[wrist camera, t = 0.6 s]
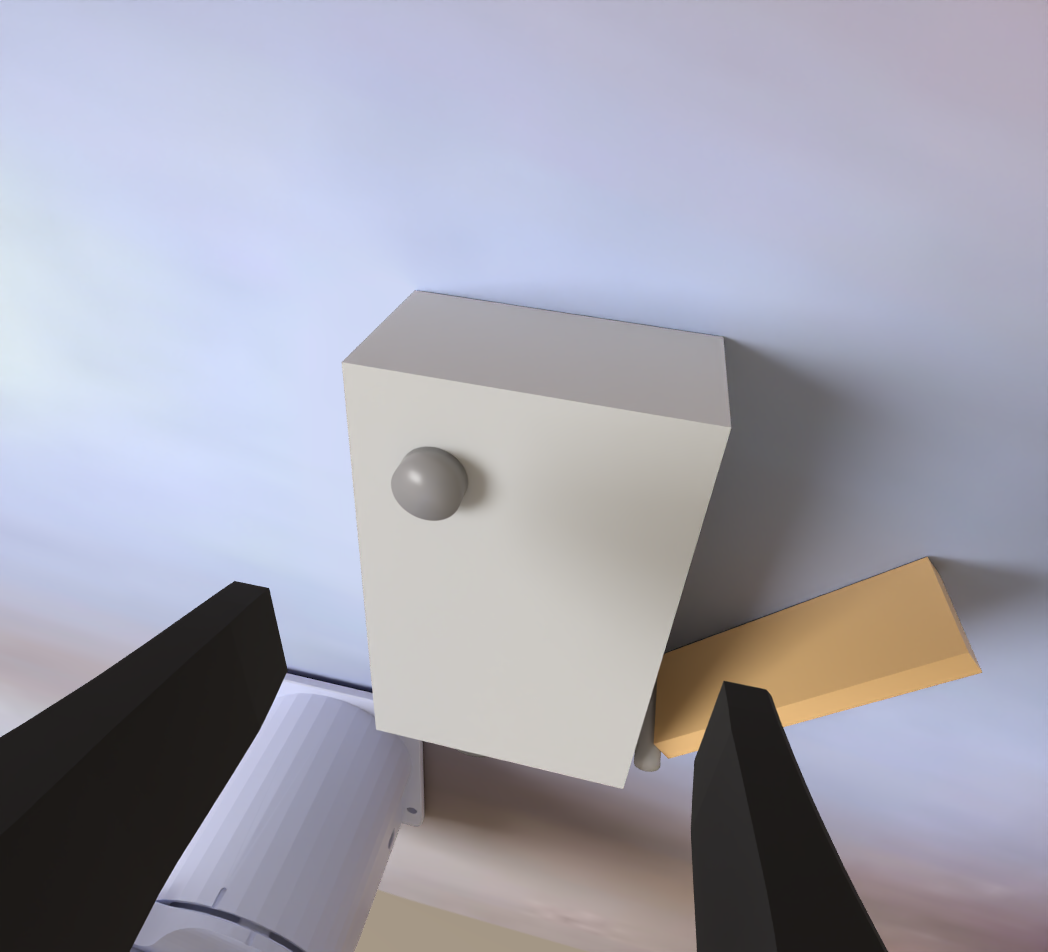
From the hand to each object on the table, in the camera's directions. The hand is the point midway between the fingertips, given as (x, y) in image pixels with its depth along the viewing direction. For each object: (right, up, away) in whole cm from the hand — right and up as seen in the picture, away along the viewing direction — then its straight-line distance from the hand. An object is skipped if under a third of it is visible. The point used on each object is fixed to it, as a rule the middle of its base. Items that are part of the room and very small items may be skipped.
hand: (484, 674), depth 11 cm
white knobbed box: (+1, +2, +10) cm, 10 cm away
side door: (+9, -2, +11) cm, 14 cm away
